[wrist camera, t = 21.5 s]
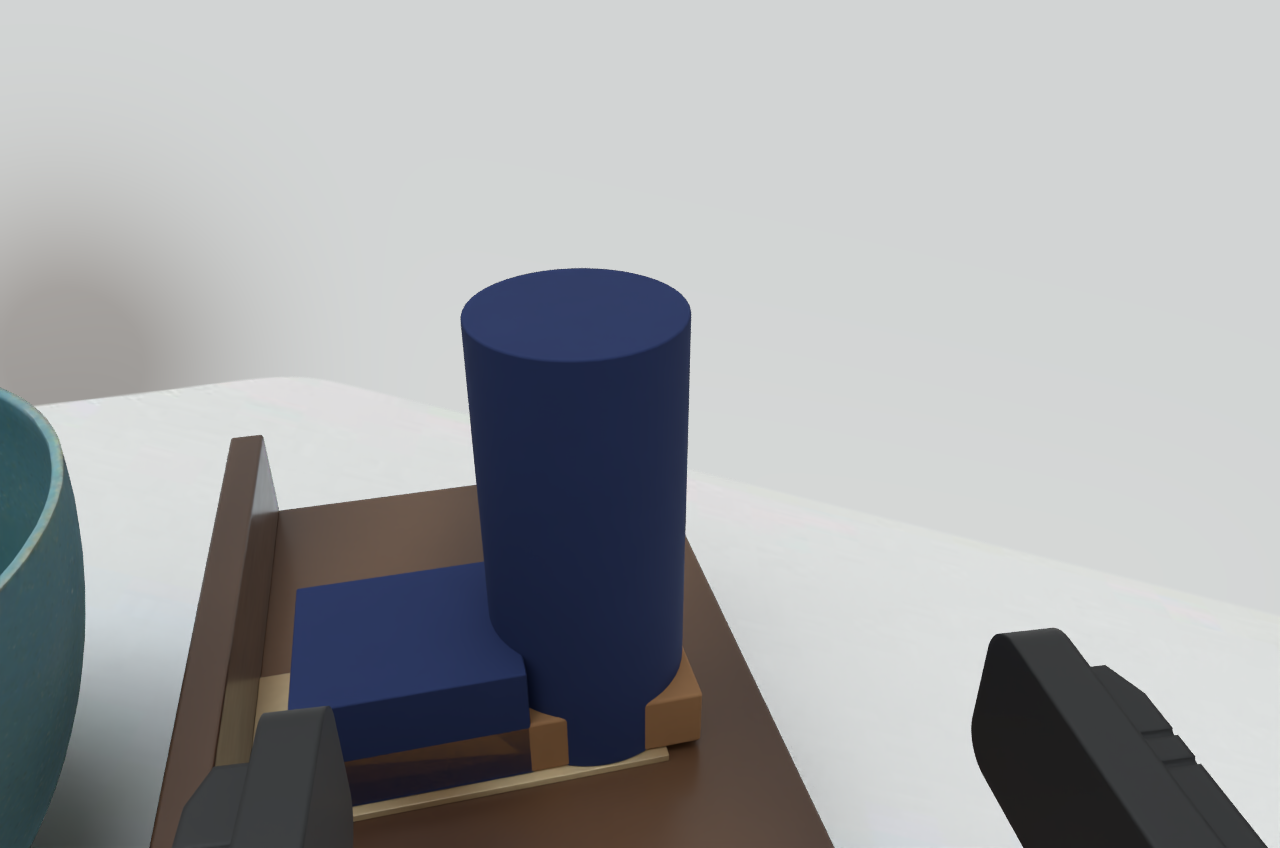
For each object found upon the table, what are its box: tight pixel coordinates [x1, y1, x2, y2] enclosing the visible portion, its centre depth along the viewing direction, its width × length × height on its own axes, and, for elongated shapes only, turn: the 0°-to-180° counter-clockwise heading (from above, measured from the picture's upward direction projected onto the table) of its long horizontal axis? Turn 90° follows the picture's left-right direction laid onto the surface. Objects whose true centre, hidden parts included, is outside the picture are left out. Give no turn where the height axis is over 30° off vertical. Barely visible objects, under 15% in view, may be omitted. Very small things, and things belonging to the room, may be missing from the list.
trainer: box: [288, 268, 702, 807], centre depth 24 cm, size 9×5×11 cm, turn 104°
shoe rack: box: [149, 435, 834, 848], centre depth 27 cm, size 14×22×8 cm, turn 14°
